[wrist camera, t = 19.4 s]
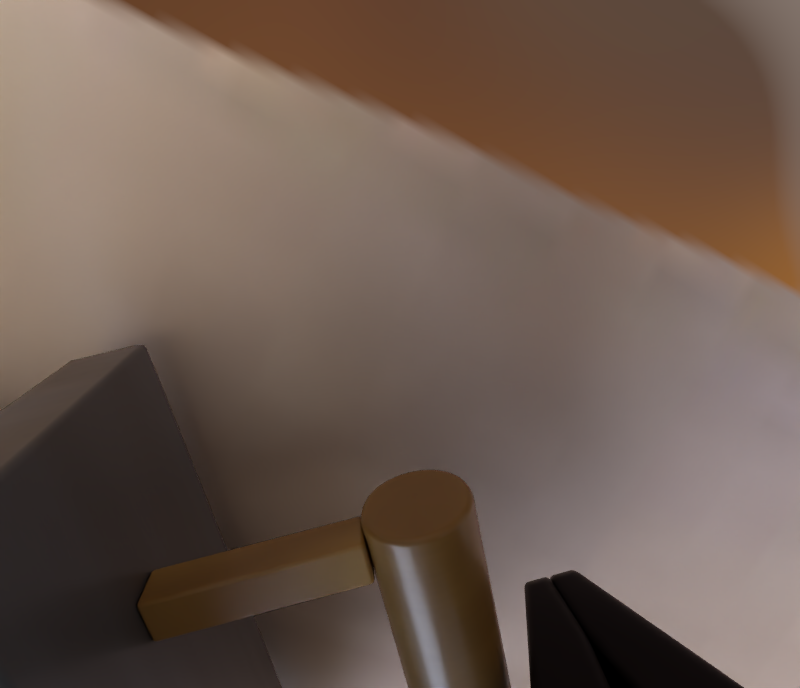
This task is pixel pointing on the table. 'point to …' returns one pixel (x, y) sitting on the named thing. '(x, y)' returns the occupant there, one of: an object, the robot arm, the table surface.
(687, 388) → the table surface
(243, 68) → the table surface
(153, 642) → the drawer
